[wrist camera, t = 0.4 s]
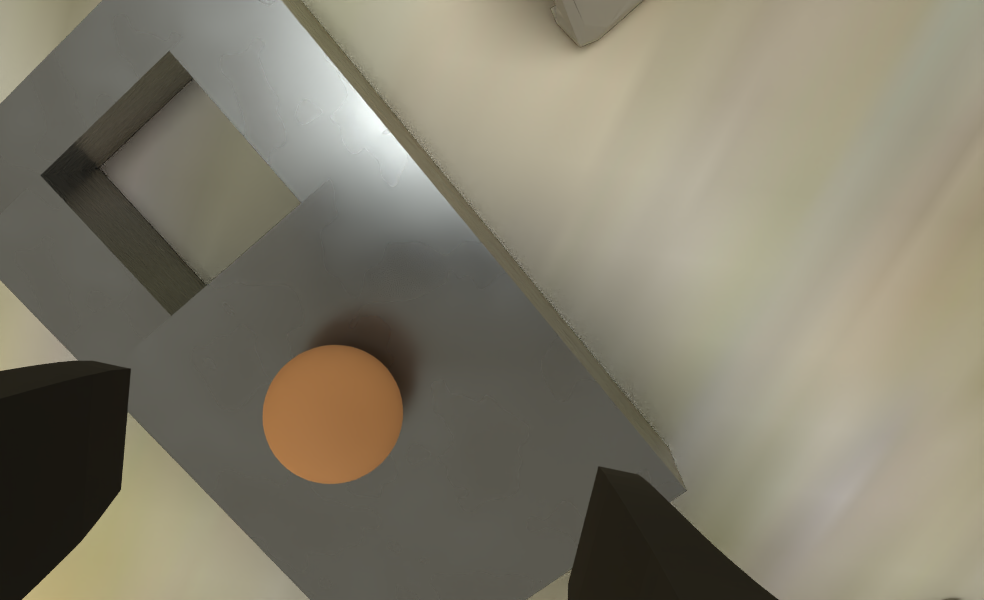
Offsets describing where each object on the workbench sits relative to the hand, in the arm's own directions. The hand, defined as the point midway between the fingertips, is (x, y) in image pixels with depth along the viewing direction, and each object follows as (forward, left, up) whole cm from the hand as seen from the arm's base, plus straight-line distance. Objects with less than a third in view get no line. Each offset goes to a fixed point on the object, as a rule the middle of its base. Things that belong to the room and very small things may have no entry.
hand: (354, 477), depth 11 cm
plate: (+2, +2, -10) cm, 10 cm away
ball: (0, +2, -6) cm, 6 cm away
